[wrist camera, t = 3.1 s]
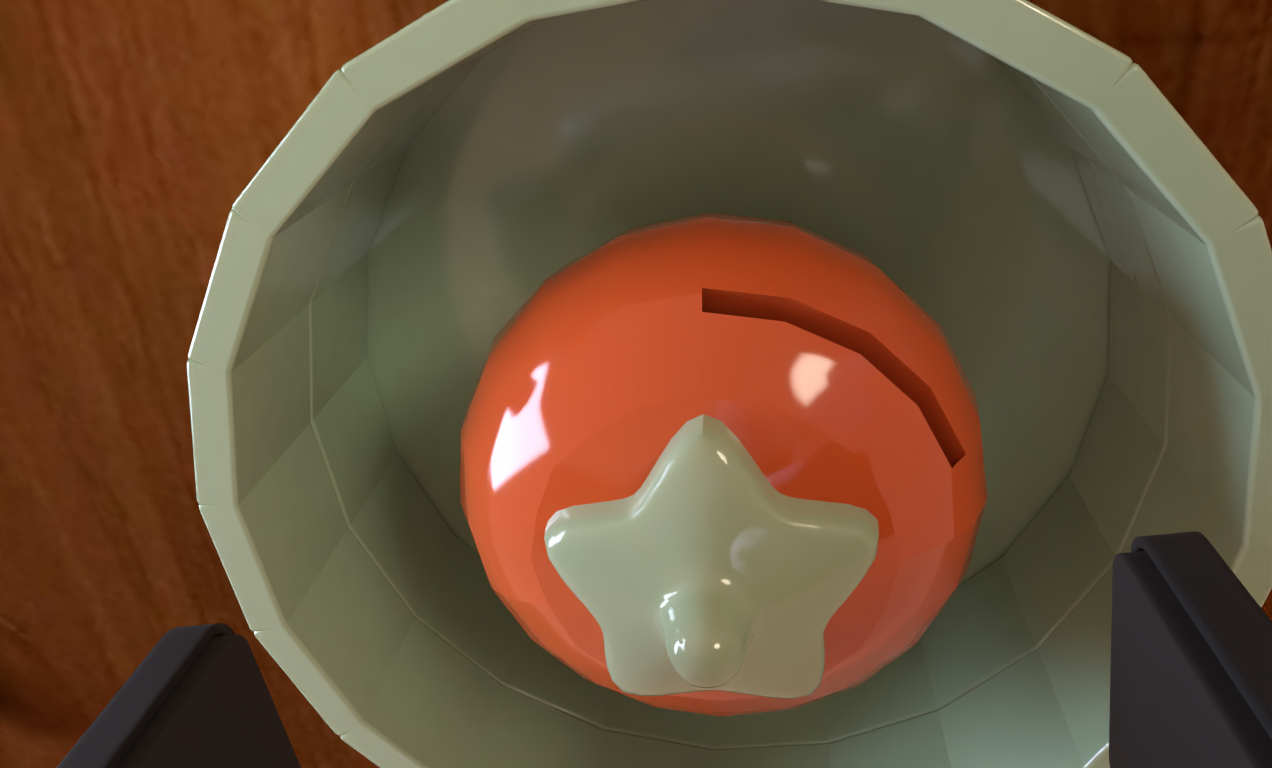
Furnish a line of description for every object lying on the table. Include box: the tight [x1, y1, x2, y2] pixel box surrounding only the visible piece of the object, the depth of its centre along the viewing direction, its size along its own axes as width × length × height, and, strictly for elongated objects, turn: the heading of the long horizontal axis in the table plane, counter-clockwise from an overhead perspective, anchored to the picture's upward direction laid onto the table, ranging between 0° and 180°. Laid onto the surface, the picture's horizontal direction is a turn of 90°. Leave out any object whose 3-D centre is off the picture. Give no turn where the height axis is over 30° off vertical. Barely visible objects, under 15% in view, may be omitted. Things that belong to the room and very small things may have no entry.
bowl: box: [187, 0, 1272, 768], centre depth 15 cm, size 14×14×6 cm
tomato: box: [460, 212, 987, 716], centre depth 14 cm, size 7×7×8 cm
